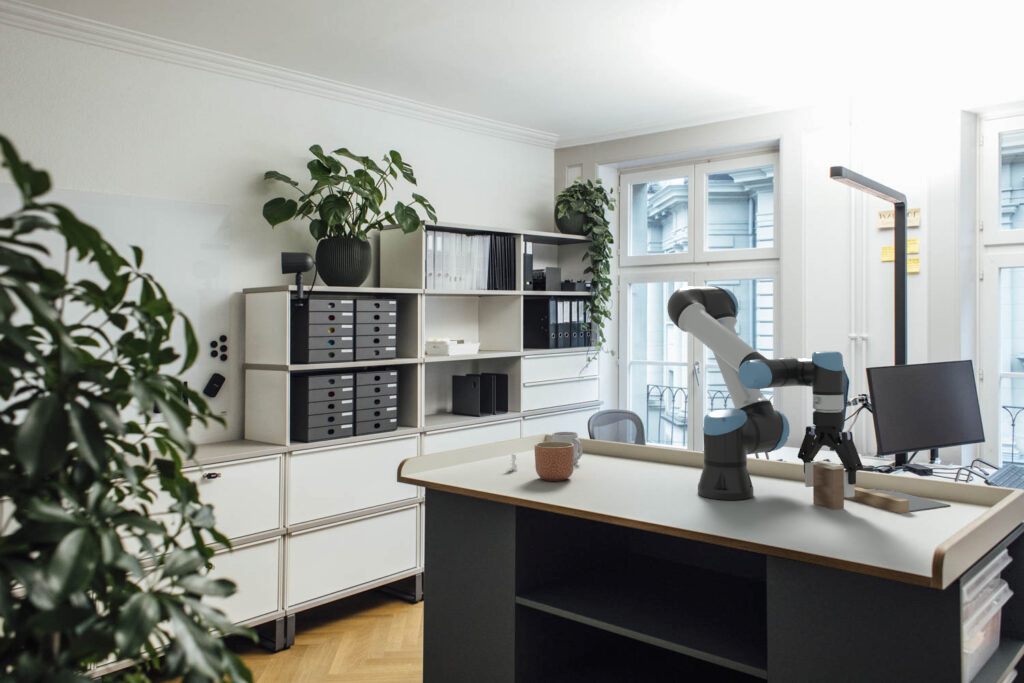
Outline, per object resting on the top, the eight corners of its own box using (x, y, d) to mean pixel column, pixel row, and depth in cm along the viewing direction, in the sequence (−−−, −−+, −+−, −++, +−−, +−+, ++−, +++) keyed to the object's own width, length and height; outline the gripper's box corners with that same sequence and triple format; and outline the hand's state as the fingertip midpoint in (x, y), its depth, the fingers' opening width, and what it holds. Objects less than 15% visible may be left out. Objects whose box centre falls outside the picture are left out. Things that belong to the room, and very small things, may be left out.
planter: (569, 484, 229) (568, 448, 229) (529, 482, 233) (529, 446, 233) (578, 476, 241) (578, 441, 241) (541, 474, 245) (540, 440, 245)
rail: (833, 494, 211) (833, 484, 211) (842, 493, 212) (842, 483, 212) (899, 513, 190) (899, 501, 190) (908, 512, 191) (908, 500, 191)
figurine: (508, 475, 246) (508, 456, 246) (497, 471, 253) (496, 453, 253) (529, 472, 250) (529, 454, 250) (517, 468, 257) (517, 450, 257)
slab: (813, 503, 201) (813, 461, 201) (823, 502, 203) (823, 460, 202) (833, 509, 195) (833, 466, 194) (843, 508, 196) (843, 465, 196)
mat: (843, 493, 212) (843, 492, 212) (881, 488, 217) (881, 487, 217) (910, 511, 192) (910, 510, 192) (950, 506, 197) (950, 504, 197)
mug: (550, 460, 269) (550, 432, 269) (577, 459, 270) (576, 431, 270) (555, 466, 258) (555, 436, 258) (583, 464, 259) (582, 435, 259)
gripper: (783, 406, 208) (784, 483, 209) (854, 416, 185) (855, 502, 185) (805, 405, 211) (806, 481, 211) (877, 414, 188) (878, 499, 188)
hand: (829, 491), depth 198 cm, fingers open, 13 cm apart
